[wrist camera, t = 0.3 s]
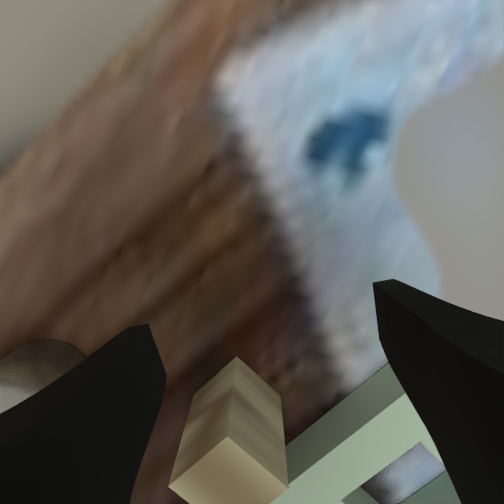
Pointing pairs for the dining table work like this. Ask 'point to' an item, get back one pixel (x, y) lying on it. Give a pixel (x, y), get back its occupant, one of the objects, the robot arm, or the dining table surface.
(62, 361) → the round peg
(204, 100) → the dining table surface
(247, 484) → the square peg
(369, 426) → the hole plate
